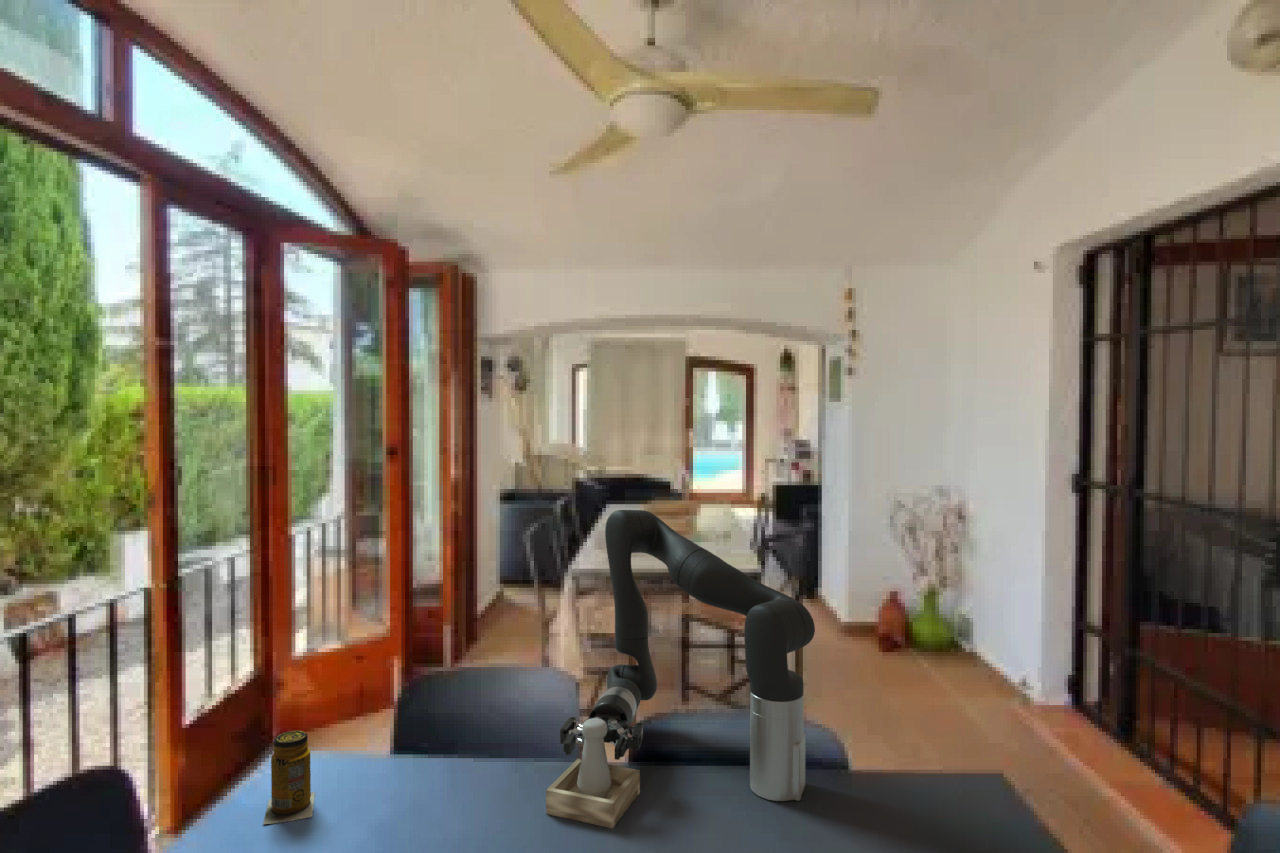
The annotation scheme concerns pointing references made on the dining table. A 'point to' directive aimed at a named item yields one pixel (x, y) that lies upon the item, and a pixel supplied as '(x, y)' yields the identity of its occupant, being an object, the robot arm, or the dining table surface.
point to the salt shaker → (594, 760)
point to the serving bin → (590, 809)
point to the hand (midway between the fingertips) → (591, 751)
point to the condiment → (290, 779)
